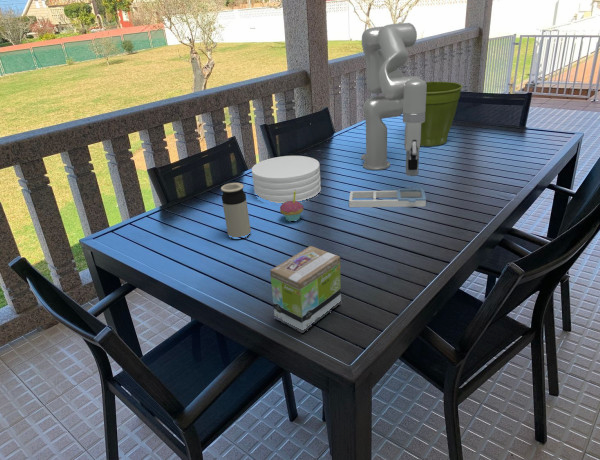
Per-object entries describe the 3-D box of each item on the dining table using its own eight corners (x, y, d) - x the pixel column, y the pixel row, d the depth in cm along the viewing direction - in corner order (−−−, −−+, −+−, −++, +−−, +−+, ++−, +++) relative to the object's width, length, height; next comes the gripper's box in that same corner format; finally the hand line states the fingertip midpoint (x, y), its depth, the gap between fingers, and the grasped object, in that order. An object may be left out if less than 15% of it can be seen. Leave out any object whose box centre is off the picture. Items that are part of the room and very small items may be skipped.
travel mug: (241, 242, 149) (233, 192, 141) (223, 237, 153) (215, 189, 145) (255, 232, 155) (249, 184, 147) (238, 228, 159) (230, 181, 151)
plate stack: (330, 183, 193) (329, 157, 188) (304, 208, 170) (302, 180, 165) (274, 178, 204) (271, 154, 199) (242, 201, 182) (238, 174, 177)
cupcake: (307, 215, 164) (305, 185, 158) (299, 225, 157) (297, 194, 151) (285, 214, 167) (282, 184, 161) (277, 223, 159) (274, 192, 154)
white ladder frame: (350, 195, 178) (350, 188, 176) (422, 194, 173) (423, 187, 172) (349, 208, 166) (348, 201, 165) (426, 208, 162) (426, 200, 160)
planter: (403, 172, 165) (404, 145, 161) (415, 171, 165) (416, 144, 161) (407, 176, 161) (408, 149, 157) (419, 175, 161) (421, 148, 157)
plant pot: (398, 136, 251) (399, 83, 238) (452, 133, 246) (456, 80, 234) (401, 151, 225) (403, 93, 212) (462, 149, 220) (467, 89, 207)
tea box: (304, 336, 104) (299, 283, 97) (274, 320, 110) (267, 269, 103) (342, 304, 113) (340, 254, 107) (312, 291, 120) (309, 243, 113)
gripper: (401, 112, 162) (400, 160, 170) (404, 123, 147) (402, 175, 155) (422, 111, 161) (420, 159, 169) (427, 122, 146) (424, 174, 154)
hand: (412, 166), depth 162 cm, fingers closed on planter, 4 cm apart
